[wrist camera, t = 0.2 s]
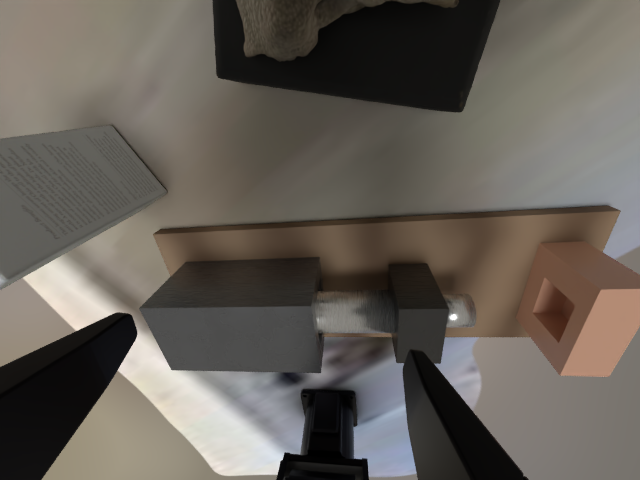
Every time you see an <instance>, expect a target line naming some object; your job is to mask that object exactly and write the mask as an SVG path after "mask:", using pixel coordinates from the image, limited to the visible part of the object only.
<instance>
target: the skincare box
mask: <svg viewBox="0 0 640 480" xmlns="http://www.w3.org/2000/svg"><path fill="white" fill-rule="evenodd" d="M166 193H167V191H166V190H165V188H164V187H163V186H162V185H161V184H160V183H159V181H158V180H157V179H156V178H155V177H154V175H153V174H152V173H151V172H150V171H149V169H148V168H147V167H146V166H145V165H144V163H143V162H142V161H141V160H140V159H139V158H138V156H137V155H136V154H135V153H134V152H133V150H132V149H131V148H130V147H129V146H128V144H127V143H126V142H125V141H124V140H123V138H122V137H121V136H120V135H119V134H118V132H117V131H116V130H115V129H114V127H113V126H111V125H106V126H98V127H90V128H82V129H74V130H66V131H59V132H50V133H42V134H33V135H25V136H18V137H10V138H2V139H0V290H1V289H3V288H5V287H7V286H8V285H10V284H12V283H14V282H15V281H17V280H19V279H21V278H22V277H24V276H26V275H28V274H30V273H31V272H33V271H35V270H37V269H38V268H40V267H42V266H44V265H45V264H47V263H49V262H51V261H53V260H54V259H56V258H58V257H60V256H61V255H63V254H65V253H67V252H68V251H70V250H72V249H74V248H75V247H77V246H79V245H81V244H83V243H84V242H86V241H88V240H90V239H91V238H93V237H95V236H97V235H99V234H100V233H102V232H104V231H106V230H108V229H109V228H111V227H113V226H115V225H116V224H118V223H120V222H122V221H124V220H125V219H127V218H129V217H131V216H133V215H134V214H136V213H137V212H139V211H140V210H142V209H144V208H145V207H147V206H148V205H150V204H151V203H153V202H154V201H156V200H158V199H159V198H161V197H162V196H164V195H165V194H166Z"/></svg>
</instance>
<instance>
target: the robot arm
mask: <svg viewBox="0 0 640 480" xmlns="http://www.w3.org/2000/svg"><path fill="white" fill-rule="evenodd" d="M136 337H137V329H136V326H135V323H134V320H133V317H132V315H130V314H128V313H120V312H119V313H114V314H112V315H110V316H108V317H106V318H104V319H101V320H99V321H97V322H95V323H93V324H91V325H89V326H87V327H84V328H82V329H80V330H78V331H76V332H74V333H72V334H70V335H67V336H65V337H63V338H61V339H59V340H57V341H55V342H53V343H50V344H48V345H46V346H44V347H42V348H40V349H38V350H36V351H33V352H31V353H29V354H27V355H25V356H23V357H21V358H19V359H16V360H14V361H12V362H10V363H8V364H6V365H4V366H2V367H0V480H41V479H42V478H43V476H44V475H45V474H46V472H47V471H48V470H49V468H50V467H51V465H52V464H53V463H54V461H55V460H56V458H57V457H58V456H59V454H60V453H61V451H62V450H63V449H64V447H65V446H66V444H67V443H68V442H69V440H70V438H71V437H72V436H73V435H74V433H75V432H76V430H77V429H78V427H79V426H80V425H81V423H82V422H83V420H84V419H85V418H86V416H87V415H88V413H89V412H90V411H91V409H92V408H93V406H94V405H95V404H96V402H97V401H98V399H99V398H100V397H101V395H102V394H103V392H104V391H105V389H106V388H107V386H108V385H109V383H110V382H111V380H112V379H113V377H114V375H115V374H116V372H117V370H118V369H119V367H120V365H121V363H122V362H123V360H124V358H125V357H126V355H127V353H128V352H129V350H130V348H131V346H132V345H133V343H134V341H135V339H136ZM403 381H404V392H405V402H406V413H407V423H408V430H409V436H410V441H411V446H412V451H413V456H414V461H415V466H416V471H417V477H418V480H528V478H527V477H525V476H524V477H523V472H522V471H521V470H520V469H519V467H518V466H517V465H516V464H515V463H514V461H513V460H512V459H511V458H510V456H509V455H508V454H507V453H506V451H505V450H504V449H503V448H502V447H501V445H500V444H499V443H498V442H497V440H496V439H495V438H494V437H493V436H492V434H490V432H489V431H488V430H487V428H486V427H485V426H484V425H483V423H482V422H481V421H480V420H479V418H478V417H477V416H476V415H475V414H474V412H473V411H472V410H471V409H470V407H469V406H468V405H467V404H466V403H465V401H464V400H463V399H462V398H461V396H460V395H459V394H458V393H457V391H456V390H455V389H454V388H453V387H452V385H451V384H450V383H449V382H448V380H447V379H446V378H445V377H444V376H443V374H442V373H441V372H440V371H439V369H438V368H437V367H436V366H435V365H434V363H433V362H432V361H431V360H430V358H429V357H428V356H427V355H426V354H425V352H423V351H421V350H414V349H410V350H409V351H408V354H407V357H406V360H405V363H404V366H403ZM301 399H302V404H303V409H304V414H305V424H304V431H303V439H302V446H301V454H300V455H298V454H290V453H284V457H283V460H282V461H281V462H280V467H279V472H278V476H277V479H276V480H369V476H368V462H367V459H364V458H362V459H354V431H353V427H355V426H357V410H356V394H355V393H354V392H350V391H314V390H303V391H302V392H301Z"/></svg>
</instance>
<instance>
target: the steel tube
mask: <svg viewBox="0 0 640 480" xmlns="http://www.w3.org/2000/svg"><path fill="white" fill-rule="evenodd" d="M315 314H316V321H317V328H318V333H391V335H392V341H393V346H394V352H395V357H396V362H397V363H405V360H406V357H407V354H408V351H409V350H410V349H414V350H421V351H423V352H425V354H426V355H427V356H428V357H429V358H430V360H431V361H432V362H433V363H439V364H440V363H441V357H442V351H443V345H444V338H445V332H446V327H474V326H475V324H476V318H477V315H476V307H475V304H474V301H473V299H472V297H471V296H470V295H469V294H467V293H466V294H442V293H441V291H440V289H439V287H438V285H437V282H436V280H435V278H434V276H433V274H432V272H431V270H430V268H429V266H428V264H427V263H420V264H389V265H388V290H341V291H318V293H317V300H316V306H315Z"/></svg>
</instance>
